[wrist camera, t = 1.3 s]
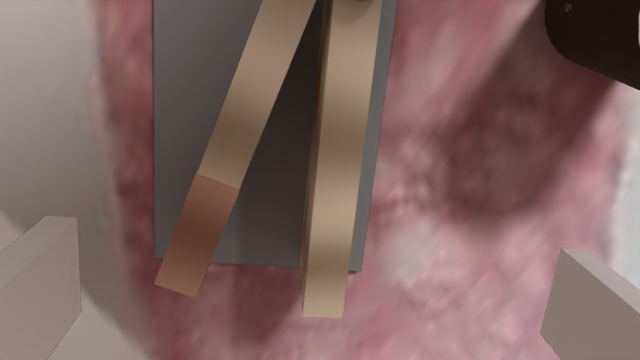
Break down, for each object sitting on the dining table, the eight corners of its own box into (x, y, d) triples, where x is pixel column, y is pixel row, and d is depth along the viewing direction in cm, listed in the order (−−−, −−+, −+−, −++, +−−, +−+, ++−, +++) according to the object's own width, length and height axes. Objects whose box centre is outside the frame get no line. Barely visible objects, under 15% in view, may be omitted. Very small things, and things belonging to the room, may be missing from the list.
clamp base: (329, -59, 27) (344, -86, 19) (367, -54, 27) (396, -80, 19) (300, 253, 32) (302, 327, 25) (331, 255, 32) (344, 329, 25)
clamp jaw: (282, -34, 27) (279, -48, 20) (319, -17, 27) (327, -25, 21) (182, 227, 31) (153, 284, 25) (215, 239, 31) (195, 298, 25)
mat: (155, -77, 27) (153, -78, 26) (402, -49, 28) (404, -50, 27) (156, 255, 32) (154, 258, 32) (360, 267, 33) (360, 271, 33)
